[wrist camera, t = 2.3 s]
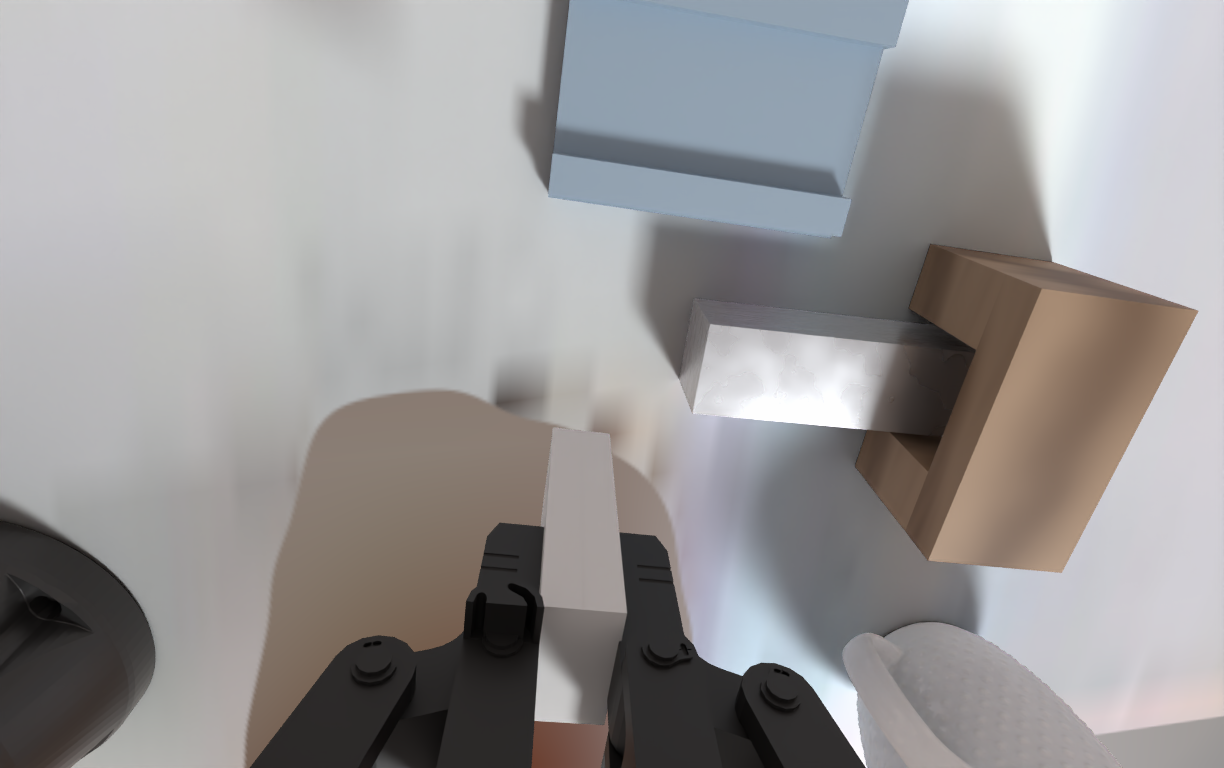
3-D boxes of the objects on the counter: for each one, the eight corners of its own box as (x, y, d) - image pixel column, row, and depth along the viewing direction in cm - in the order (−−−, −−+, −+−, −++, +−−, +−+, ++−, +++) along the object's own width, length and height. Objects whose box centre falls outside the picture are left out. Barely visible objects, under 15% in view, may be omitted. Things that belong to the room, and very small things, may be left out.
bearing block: (854, 466, 33) (928, 560, 27) (930, 243, 29) (1041, 288, 22) (962, 477, 34) (1061, 572, 27) (1053, 262, 30) (1198, 310, 23)
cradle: (549, 194, 27) (547, 200, 25) (576, -59, 24) (577, -73, 22) (822, 233, 29) (839, 243, 27) (886, 0, 25) (911, -8, 23)
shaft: (678, 376, 31) (692, 413, 28) (692, 296, 30) (710, 323, 26) (969, 405, 33) (1019, 444, 29) (998, 330, 31) (1054, 361, 28)
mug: (745, 640, 38) (826, 890, 26) (895, 520, 35) (1063, 738, 23) (897, 751, 42) (1026, 1006, 30) (1040, 653, 40) (1244, 892, 28)
